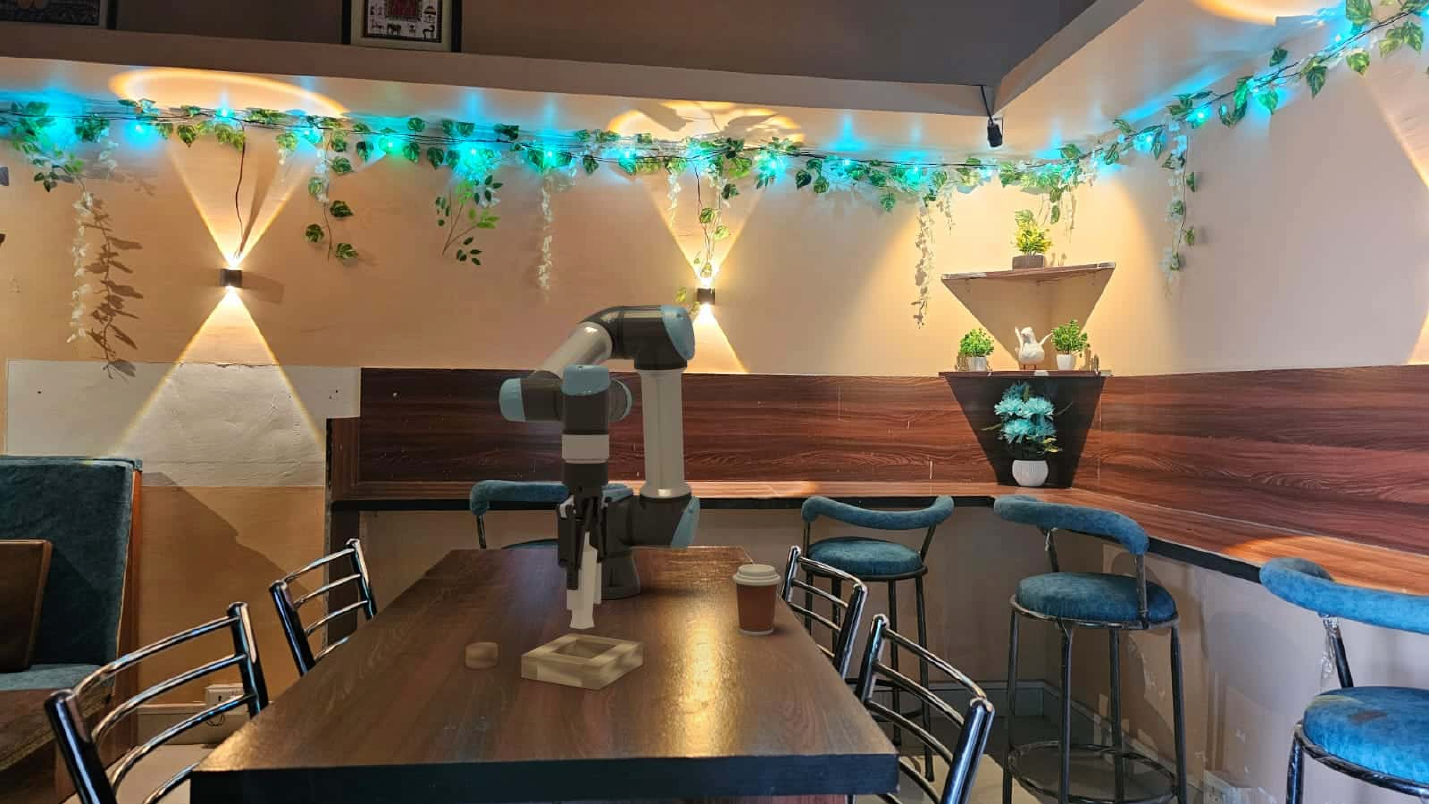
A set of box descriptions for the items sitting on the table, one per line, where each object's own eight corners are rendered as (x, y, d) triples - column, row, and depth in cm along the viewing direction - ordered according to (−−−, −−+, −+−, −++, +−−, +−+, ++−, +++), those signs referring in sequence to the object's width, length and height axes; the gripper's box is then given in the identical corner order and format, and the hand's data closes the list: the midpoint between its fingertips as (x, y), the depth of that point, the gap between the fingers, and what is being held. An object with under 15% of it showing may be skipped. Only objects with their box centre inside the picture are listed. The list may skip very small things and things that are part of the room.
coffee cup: (755, 640, 154) (756, 574, 154) (722, 629, 161) (722, 566, 161) (790, 631, 160) (790, 568, 160) (756, 622, 167) (757, 561, 167)
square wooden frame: (570, 653, 145) (570, 633, 145) (642, 663, 139) (642, 642, 139) (521, 677, 132) (521, 655, 132) (598, 690, 127) (598, 666, 127)
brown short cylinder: (479, 658, 142) (479, 640, 142) (503, 662, 140) (503, 644, 140) (459, 667, 137) (459, 648, 137) (484, 671, 135) (484, 652, 135)
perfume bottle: (591, 630, 133) (592, 535, 133) (565, 628, 134) (566, 534, 134) (601, 623, 138) (601, 531, 138) (575, 621, 138) (576, 529, 138)
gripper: (593, 457, 145) (592, 592, 145) (533, 463, 129) (532, 616, 129) (632, 458, 142) (631, 597, 142) (575, 465, 126) (574, 621, 126)
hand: (584, 605), depth 136 cm, fingers closed on perfume bottle, 4 cm apart
